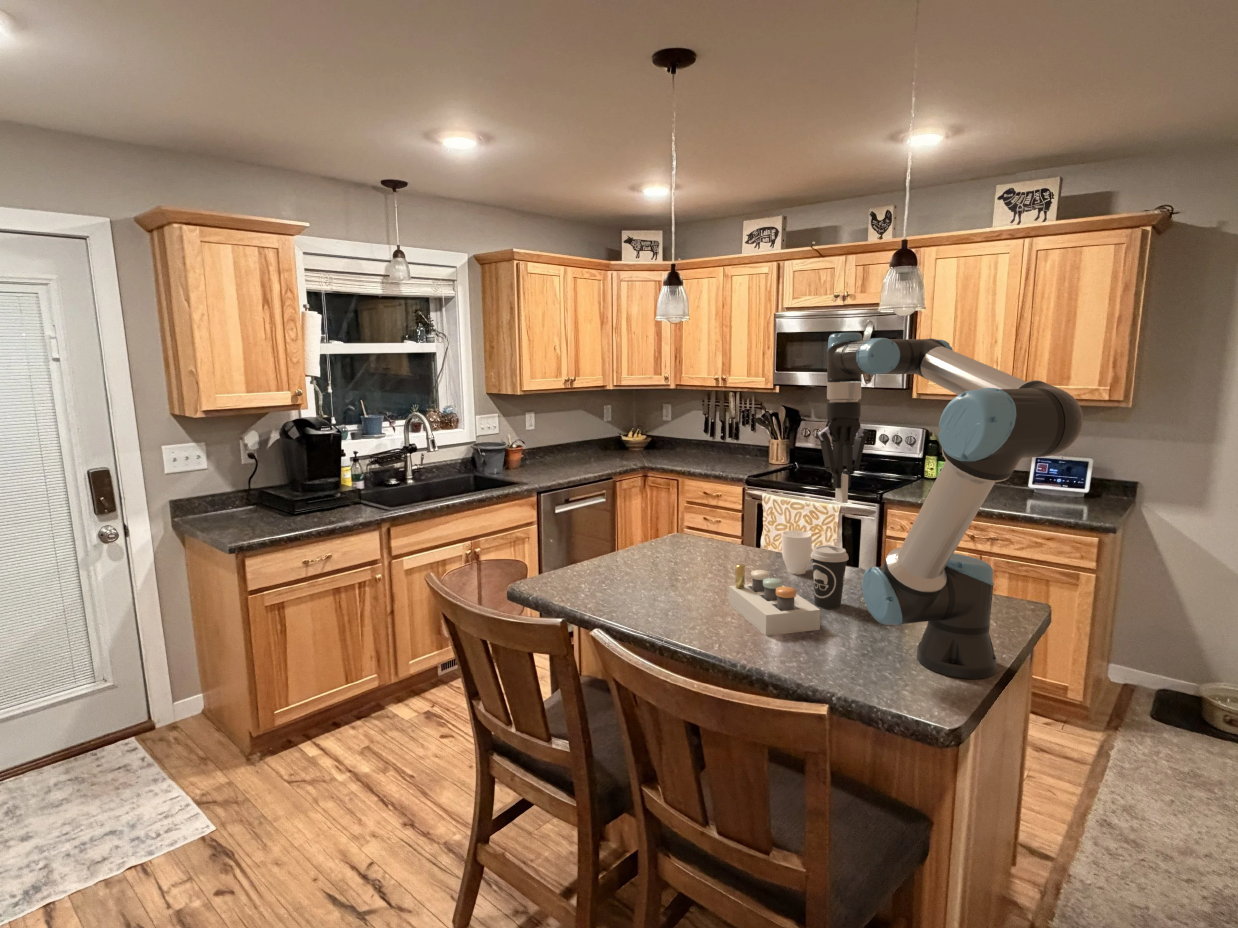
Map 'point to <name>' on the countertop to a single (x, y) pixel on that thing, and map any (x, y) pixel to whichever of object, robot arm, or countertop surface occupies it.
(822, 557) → the coffee cup
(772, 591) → the knob
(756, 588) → the knob
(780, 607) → the knob
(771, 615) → the panel
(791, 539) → the mug
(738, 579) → the cylinder
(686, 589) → the countertop surface
